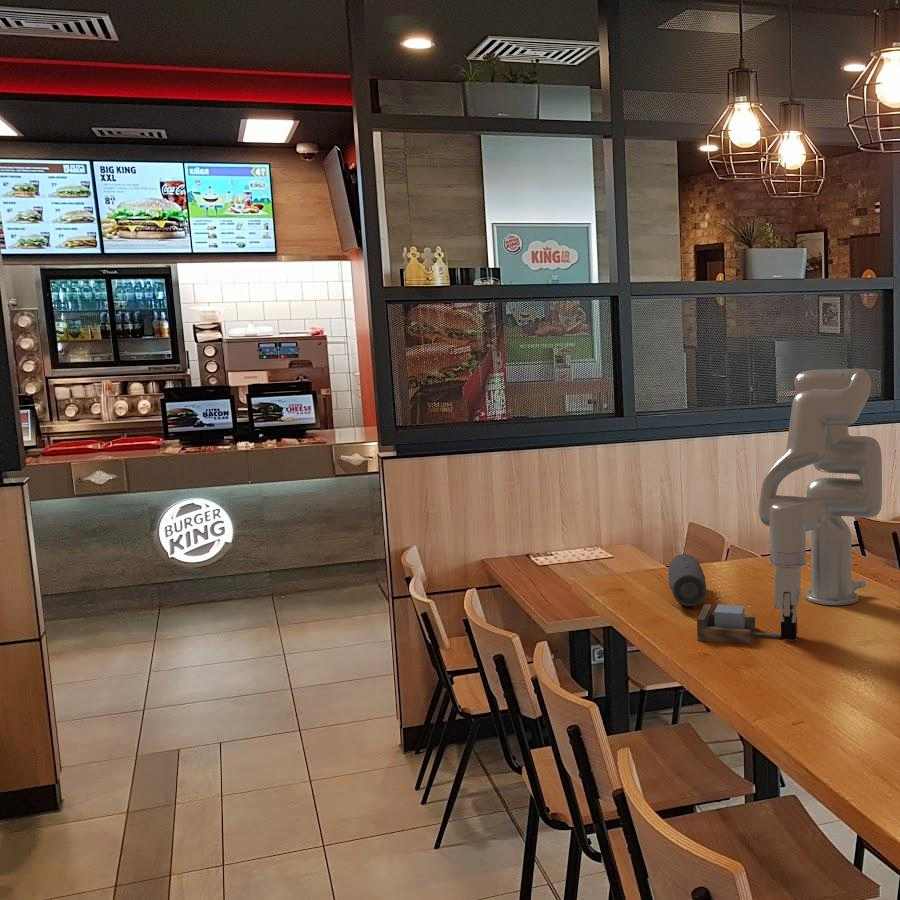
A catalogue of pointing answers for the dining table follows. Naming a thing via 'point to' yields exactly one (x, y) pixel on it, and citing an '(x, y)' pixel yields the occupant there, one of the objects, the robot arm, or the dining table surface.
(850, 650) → the dining table surface
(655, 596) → the dining table surface
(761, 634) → the block
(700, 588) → the bluetooth speaker
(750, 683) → the dining table surface
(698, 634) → the dark u-shaped frame
